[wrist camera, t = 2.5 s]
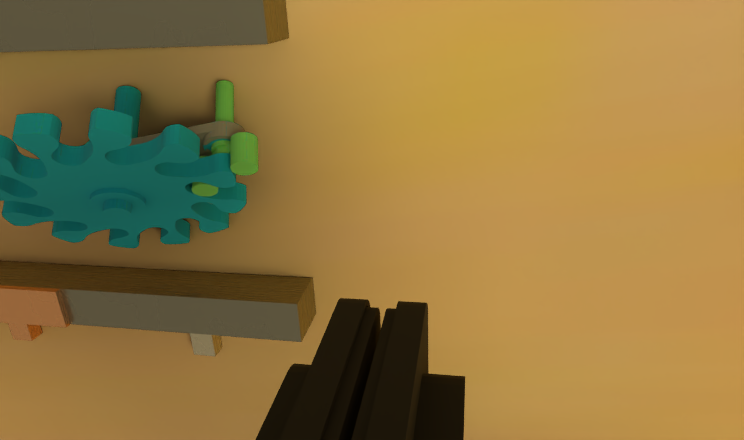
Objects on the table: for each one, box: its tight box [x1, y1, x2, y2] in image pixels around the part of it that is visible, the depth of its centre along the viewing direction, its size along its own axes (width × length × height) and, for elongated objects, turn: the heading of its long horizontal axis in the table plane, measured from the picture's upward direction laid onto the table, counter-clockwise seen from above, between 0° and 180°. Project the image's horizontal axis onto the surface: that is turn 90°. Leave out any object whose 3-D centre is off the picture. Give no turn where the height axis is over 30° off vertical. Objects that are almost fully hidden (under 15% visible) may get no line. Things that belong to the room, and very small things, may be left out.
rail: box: [0, 0, 316, 356], centre depth 25 cm, size 20×24×3 cm
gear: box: [0, 80, 258, 248], centre depth 23 cm, size 11×6×10 cm
